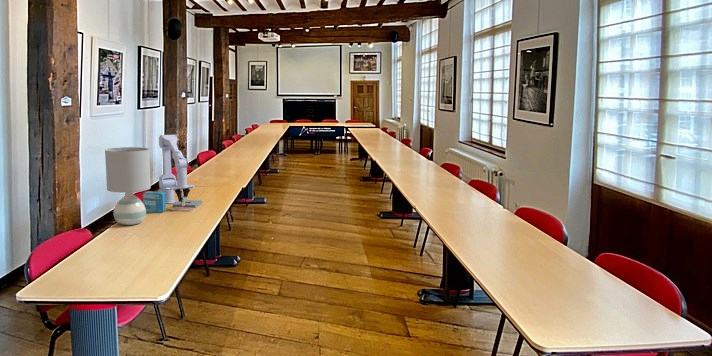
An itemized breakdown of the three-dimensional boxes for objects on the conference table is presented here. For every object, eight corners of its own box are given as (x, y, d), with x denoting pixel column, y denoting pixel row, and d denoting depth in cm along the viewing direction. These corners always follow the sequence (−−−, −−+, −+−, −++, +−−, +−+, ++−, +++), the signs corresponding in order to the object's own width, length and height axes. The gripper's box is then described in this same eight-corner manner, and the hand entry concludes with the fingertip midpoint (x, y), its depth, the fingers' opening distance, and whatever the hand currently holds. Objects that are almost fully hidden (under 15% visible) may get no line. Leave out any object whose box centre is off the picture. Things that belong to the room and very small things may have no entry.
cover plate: (172, 207, 334) (172, 204, 334) (180, 202, 348) (180, 199, 348) (195, 208, 334) (195, 205, 334) (202, 203, 348) (202, 200, 348)
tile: (170, 210, 325) (170, 209, 325) (175, 207, 333) (175, 207, 333) (190, 211, 325) (190, 210, 325) (194, 208, 333) (194, 207, 333)
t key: (178, 205, 330) (177, 195, 330) (182, 204, 332) (181, 195, 331) (183, 207, 325) (183, 197, 324) (187, 206, 327) (187, 197, 326)
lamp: (99, 225, 288) (95, 150, 281) (129, 217, 308) (126, 146, 301) (131, 230, 280) (128, 152, 274) (160, 221, 300) (158, 148, 294)
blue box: (143, 212, 320) (142, 192, 318) (146, 210, 324) (145, 191, 322) (163, 213, 319) (162, 193, 317) (166, 211, 324) (165, 191, 322)
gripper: (173, 181, 318) (174, 203, 321) (196, 178, 328) (196, 200, 330) (168, 179, 323) (168, 201, 326) (190, 177, 333) (191, 198, 335)
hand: (182, 201), depth 328 cm, fingers closed on t key, 3 cm apart
